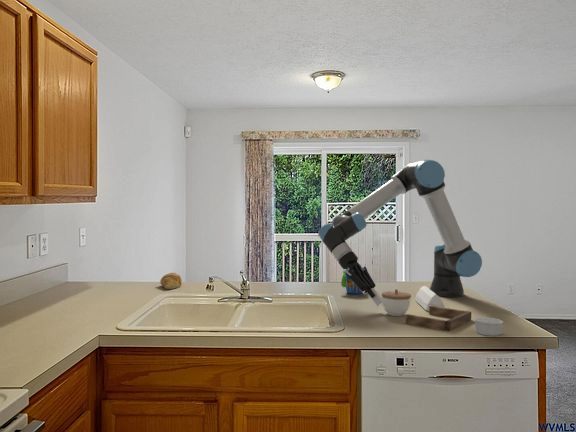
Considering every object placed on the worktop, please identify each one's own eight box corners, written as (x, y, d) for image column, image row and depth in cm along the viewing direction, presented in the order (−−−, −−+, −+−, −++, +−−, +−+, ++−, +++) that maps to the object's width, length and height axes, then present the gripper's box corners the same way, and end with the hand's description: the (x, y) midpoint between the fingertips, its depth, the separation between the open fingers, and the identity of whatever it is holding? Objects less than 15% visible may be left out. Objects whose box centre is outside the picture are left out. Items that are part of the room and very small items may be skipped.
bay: (405, 323, 176) (406, 314, 176) (430, 313, 192) (430, 305, 192) (448, 331, 166) (449, 322, 166) (471, 319, 183) (471, 311, 183)
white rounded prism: (410, 291, 218) (422, 302, 194) (424, 283, 217) (438, 294, 194) (418, 306, 218) (431, 319, 194) (433, 298, 218) (448, 310, 194)
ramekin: (470, 329, 170) (470, 316, 170) (496, 330, 169) (497, 317, 169) (479, 336, 161) (479, 323, 161) (507, 337, 161) (508, 323, 160)
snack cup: (359, 289, 242) (359, 268, 241) (374, 293, 233) (375, 271, 233) (334, 292, 233) (334, 270, 233) (349, 296, 224) (349, 273, 224)
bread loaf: (174, 298, 234) (182, 282, 234) (154, 288, 233) (162, 272, 233) (179, 288, 255) (187, 275, 255) (161, 279, 254) (169, 265, 254)
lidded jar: (404, 318, 183) (405, 293, 182) (377, 314, 188) (377, 290, 188) (414, 313, 192) (414, 289, 192) (387, 309, 198) (387, 286, 197)
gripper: (348, 261, 210) (382, 306, 200) (330, 263, 200) (365, 312, 190) (359, 249, 207) (395, 295, 197) (341, 251, 197) (378, 300, 187)
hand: (380, 303), depth 193 cm, fingers closed
